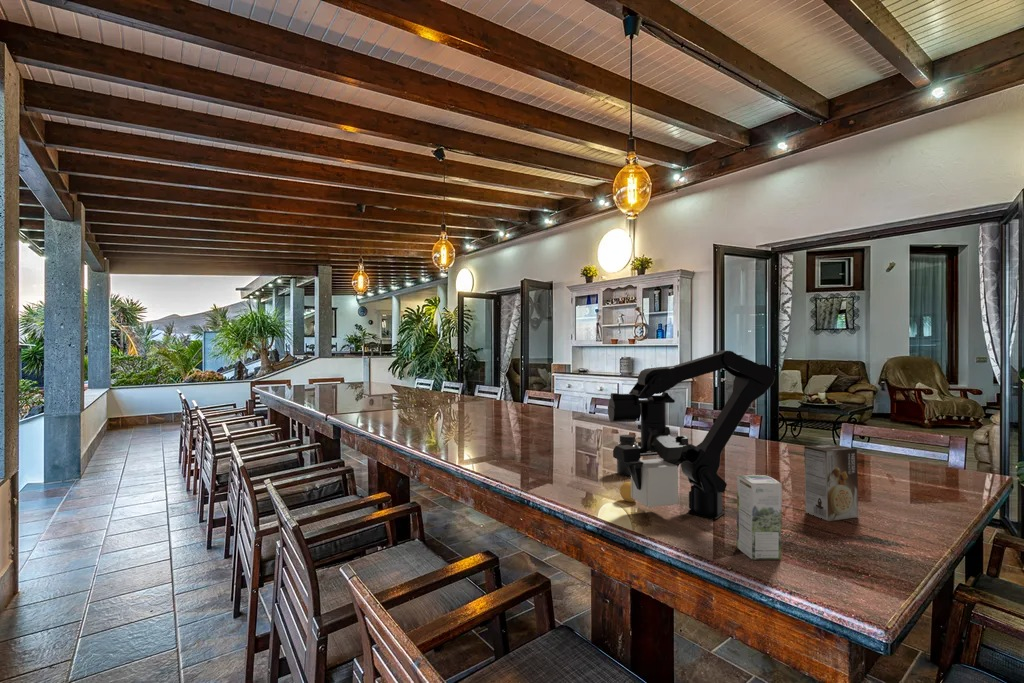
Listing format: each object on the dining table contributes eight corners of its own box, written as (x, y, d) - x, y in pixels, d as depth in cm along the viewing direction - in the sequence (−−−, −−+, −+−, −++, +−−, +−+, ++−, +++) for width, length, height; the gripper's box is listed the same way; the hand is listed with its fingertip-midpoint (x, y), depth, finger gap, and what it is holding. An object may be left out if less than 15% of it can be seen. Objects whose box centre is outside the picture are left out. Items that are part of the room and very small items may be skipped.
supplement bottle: (637, 471, 154) (637, 434, 154) (640, 477, 147) (640, 438, 147) (615, 471, 155) (615, 433, 155) (618, 476, 148) (617, 437, 148)
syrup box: (764, 547, 95) (764, 473, 95) (782, 560, 89) (782, 481, 89) (736, 548, 95) (735, 473, 95) (752, 561, 89) (751, 482, 89)
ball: (643, 501, 124) (643, 481, 124) (633, 505, 120) (633, 485, 120) (626, 497, 127) (626, 478, 127) (616, 501, 124) (616, 481, 124)
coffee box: (834, 509, 118) (833, 443, 118) (859, 518, 112) (858, 448, 112) (804, 512, 115) (803, 445, 116) (828, 521, 109) (827, 450, 109)
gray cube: (658, 494, 119) (658, 458, 119) (678, 504, 111) (677, 465, 111) (631, 497, 116) (630, 461, 116) (649, 507, 109) (648, 468, 109)
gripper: (637, 429, 104) (637, 502, 103) (709, 424, 109) (710, 493, 109) (611, 421, 114) (612, 487, 114) (678, 418, 120) (679, 481, 120)
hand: (653, 487), depth 114 cm, fingers closed on gray cube, 8 cm apart
